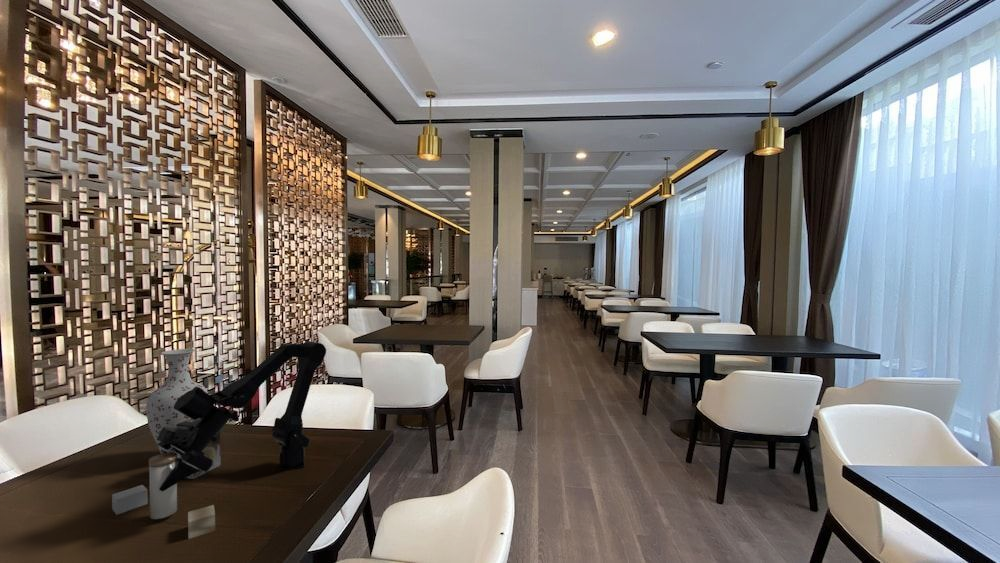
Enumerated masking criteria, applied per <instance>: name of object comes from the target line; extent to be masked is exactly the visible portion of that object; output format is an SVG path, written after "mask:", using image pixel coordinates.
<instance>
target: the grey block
mask: <svg viewBox="0 0 1000 563" xmlns="http://www.w3.org/2000/svg"><path fill="white" fill-rule="evenodd" d="M145 505H148V488H147V487H146V486H144V485H143V484H141V485H137V486H134V487H131V488H129V489H126V490H122V491H120V492H116V493H112V494H111V510H112V511H113V512H114V513H115V515H121V514H123V513H126V512H128V511H131V510H134V509H137V508H140V507H143V506H145Z"/></svg>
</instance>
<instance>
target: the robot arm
mask: <svg viewBox="0 0 1000 563" xmlns="http://www.w3.org/2000/svg"><path fill="white" fill-rule="evenodd" d="M326 354H327V348H326V346H325V344H323V343H321V342H317V341H316V342H315V341H308V340H307V341H305V342H303V343H291V344H290V343H282V344H281V345H280V346H278V348H277V349H276V350H275V351H274V352H273V353H272V354H270V355H268V357H266V358H265V359H264V360H263V361H262V362H261V363H259V365H257V366H256V367H255V368H253V370H252V371H250V372H249V373H247V374H246V375H245V376H243V377H241V378H239V379H236V380H235V381H232V382H231V383H229V384H227V385H226V386H225V387H224V388H222V389H221V390H219V391H216V392H213V393H210V394H209V393H208V394H207V393H206V392H204V390H203V389H201V388H200V387H197V386H196V387H194V388H193V389H192V390H190V391H188V392H187V393H185V394H184V395H182V396H181V397H180V398H179V399H178V400H177V401H176V403H175V405H174V409H175V410H177V411H179V412H181V413H182V414H184V415H186V416H188V417H189V418H191V419H193V420H196V419H199V418H201V419H200V421H199V422H198V423H197V424H196V425H195V426H193V425H191V426H189V427H188V428H187V429H185V428H184V429H181V428H170V427H163V428H162V430H161V432H160V434H159V436H158V438H157V441H161V442H160V443H159V444H158V445H159V446H161V447H162V448H165V450H162V449H161V452H162V454H163V453H170V452H173V453H177V458H175V467H174V469H173V470H172V471H171V473H170V474H169V475H168V477H167V478H166V479H165V481H164V482H163V484H162V485H161V487H160V488H159V490H161V491H165V490H166V489H168V488H169V487H171V486H173V485H174V484H176V483H177V484H178V483H179V482H181V481H182V480H184V479H187V478H186V477H188V476H190V475H192V474H194V473H195V472H199V471H200V470H198V468H199V469H201V470H203V471H205V472H206V473H208V472H209V471H208V470H209V469H210V468H211V467H212V465H213V460H212V459H210V458H208V457H206V456H204V454H205V453H203V452H202V451H203V450H204V449H205V448H206V447H207V445H208V444H209V443H210V442H211V441H213V442H215V441H216V440H217V438H215V436H216V435H217V433H218V432H219V431H220V432H221V430H222V429H223V428H224V426H225V425H226V424H228V422H229V421H230V420H231V421H233V422H236V423H237V422H239V416H238V413H239V411H237V410H235V409H242V408H244V407H246V406H247V405H248V404H249V403H250V402H251V400H252V399H253V398H254V397H255V396H256V395H257V392H258V390H259V388H260V387H261V386H262V385H263V384H264V383H265V382H266V381H267V380H268V379H270V377H272V376H273V375H274V374H275V373H276V372H277V371H278V370H279V369H281V367H282V366H283V365H285V364H286V363H287V362H288V361H289V360H291V359H292V358H297V363H298V369H297V374H296V377H295V380H294V383H293V387H292V390H291V392H290V396H289V400H288V402H287V406H286V409H285V411H284V413H283V415H282V416H281V417H280V418H279V417H276V418H275V420H274V423H273V427H272V428H271V432H272V433H271V434H272V438H273V439H274V441H276V442H277V444H278V445H279V446H281V447H282V448H281V450H280V451H279V467H281V468H280V471H282V472H283V471H288V470H295V469H301V468H304V467H305V463H306V462H305V461H306V460H305V459H306V458H305V448H307V447H308V446H309V443H310V439H309V437H306V436H305V435H304V434H303V427H304V424H303V417H302V415H303V411H304V408H305V405H306V401H307V398H308V394H309V391H310V388H311V385H312V381H313V379H314V378H313V377H314V375H315V372H316V370H317V369H318V368H319V367H320V365H321V364H322V363H323V361H324V358H325V356H326ZM216 404H217V405H219V407H217V406H216ZM227 407H230V408H232V410H230V409H229V408H227ZM180 457H182V459H180Z"/></svg>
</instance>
